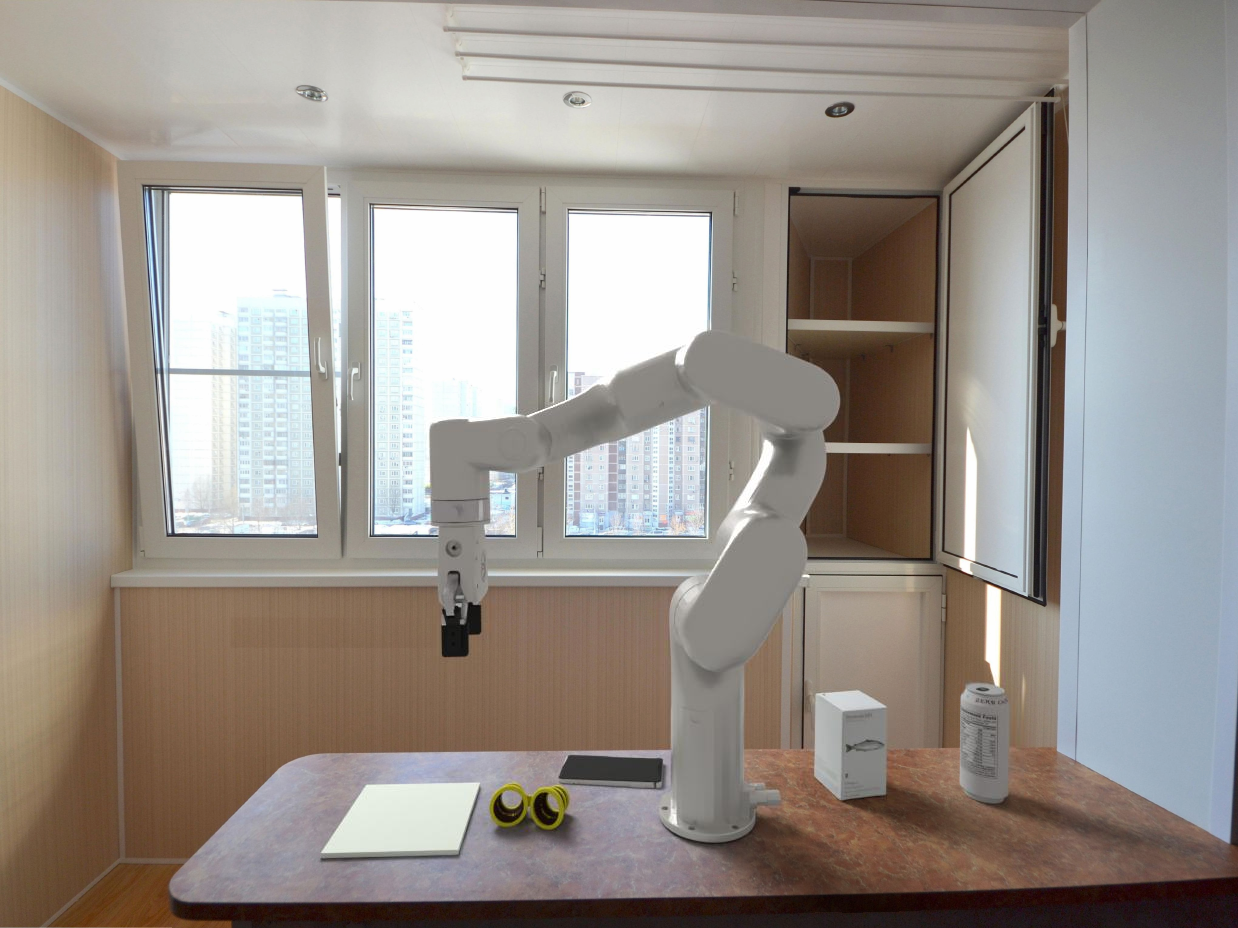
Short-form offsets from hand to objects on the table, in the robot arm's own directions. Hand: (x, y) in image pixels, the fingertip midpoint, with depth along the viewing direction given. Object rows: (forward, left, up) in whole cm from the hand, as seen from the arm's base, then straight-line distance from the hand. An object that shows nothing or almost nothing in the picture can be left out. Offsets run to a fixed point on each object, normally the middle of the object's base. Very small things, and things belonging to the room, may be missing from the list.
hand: (462, 644), depth 85 cm
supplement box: (-54, -6, -23) cm, 59 cm away
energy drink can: (-72, -3, -23) cm, 76 cm away
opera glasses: (-9, 0, -23) cm, 25 cm away
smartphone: (-20, -12, -24) cm, 33 cm away
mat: (+7, 0, -23) cm, 24 cm away
